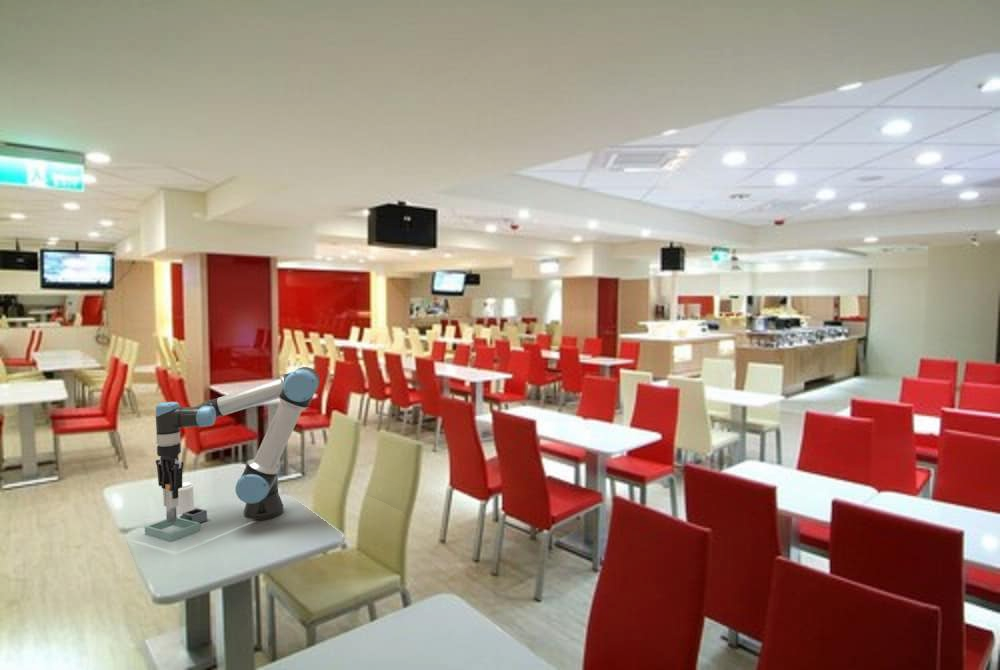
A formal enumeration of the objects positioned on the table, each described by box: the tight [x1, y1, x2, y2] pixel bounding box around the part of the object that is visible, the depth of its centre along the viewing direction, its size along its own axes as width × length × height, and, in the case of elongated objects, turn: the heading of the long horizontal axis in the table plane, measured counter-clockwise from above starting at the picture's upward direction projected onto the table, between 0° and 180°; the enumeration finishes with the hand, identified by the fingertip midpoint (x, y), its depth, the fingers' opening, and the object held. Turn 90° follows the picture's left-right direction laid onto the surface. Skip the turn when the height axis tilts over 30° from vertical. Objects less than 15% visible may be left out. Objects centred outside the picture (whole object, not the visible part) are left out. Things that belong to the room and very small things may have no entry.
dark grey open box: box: [179, 507, 211, 525], centre depth 213 cm, size 12×8×5 cm, turn 63°
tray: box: [144, 516, 201, 542], centre depth 202 cm, size 16×11×4 cm
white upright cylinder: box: [176, 481, 195, 515], centre depth 225 cm, size 8×8×12 cm
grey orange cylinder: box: [165, 483, 178, 522], centre depth 202 cm, size 3×3×14 cm
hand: (171, 505), depth 202 cm, fingers closed on grey orange cylinder, 3 cm apart
